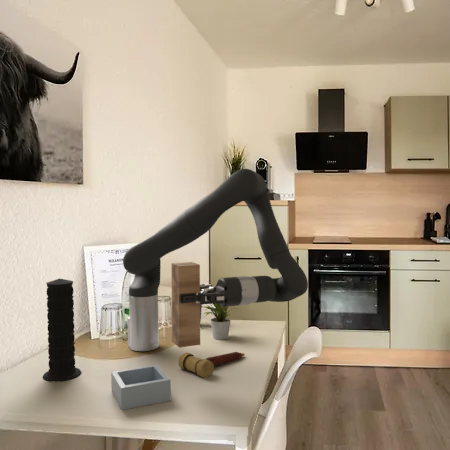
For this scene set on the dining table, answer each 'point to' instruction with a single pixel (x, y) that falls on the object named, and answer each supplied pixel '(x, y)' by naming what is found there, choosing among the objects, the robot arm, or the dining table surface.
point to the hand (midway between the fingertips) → (176, 296)
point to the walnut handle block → (185, 304)
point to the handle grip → (61, 331)
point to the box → (140, 386)
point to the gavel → (206, 362)
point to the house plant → (219, 321)
